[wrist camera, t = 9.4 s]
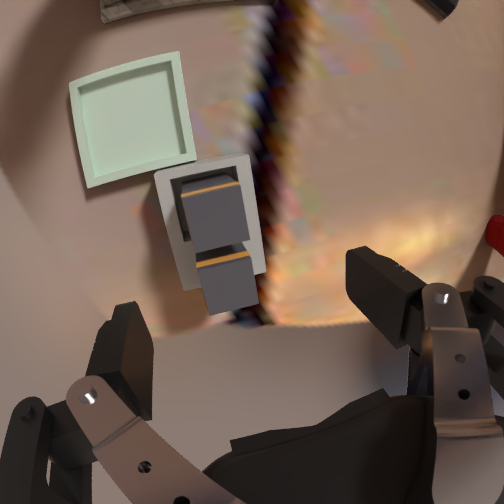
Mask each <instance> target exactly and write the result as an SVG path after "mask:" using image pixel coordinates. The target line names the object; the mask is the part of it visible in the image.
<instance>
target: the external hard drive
mask: <svg viewBox="0 0 504 504" xmlns="http://www.w3.org/2000/svg"><path fill="white" fill-rule="evenodd" d="M425 1H427V2H428V3H429V4H430V5H431V6H432V7H433V8H435V9H436V10H437V11H438V12H439V13H440V14H441V15H442V16H443V17H444V18H446V17H448V16H449V15H450V14H451V13H452V12H453V10H454V9H455V8H456V6H457V4H458V1H459V0H425Z"/></svg>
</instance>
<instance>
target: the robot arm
mask: <svg viewBox="0 0 504 504" xmlns="http://www.w3.org/2000/svg"><path fill="white" fill-rule="evenodd" d="M346 291H347V295H348V297H349V299H350V300H351V301H352V302H353V303H354V304H355V305H356V306H357V308H358V309H359V310H360V311H361V312H362V313H363V314H364V315H365V316H366V317H367V318H368V319H369V320H370V321H371V322H372V323H373V324H374V326H375V327H376V328H377V329H378V330H379V331H380V332H381V333H382V334H383V335H384V336H385V337H386V339H387V340H388V341H389V342H390V343H391V344H392V345H393V346H394V347H395V348H396V349H399V348H401V347H402V346H405V345H407V344H409V345H410V350H409V359H408V361H409V362H408V380H407V393H406V395H399V396H392V397H389V396H388V394H387V393H386V392H385V390H384V389H383V388H382V389H380V390H378V391H375V392H373V393H371V394H369V395H367V396H364V397H362V398H360V399H358V400H355V401H353V402H350V403H349V404H347V405H346V406H344V407H343V408H341V409H340V410H339V411H337V412H336V413H334V414H333V415H331V416H330V417H328V418H327V419H325V420H323V421H322V422H321V423H319V424H317V425H314V426H308V427H301V428H290V429H279V430H269V431H266V432H262V433H258V434H254V435H251V436H246V437H242V438H238V439H233V440H230V443H231V447H232V451H231V452H229V453H227V454H225V455H223V456H222V457H220V458H218V459H217V460H215V461H214V462H213V463H211V464H210V465H209V466H208V467H206V468H205V470H203V471H202V472H201V471H200V470H199V469H197V468H196V467H195V466H194V465H192V464H191V463H190V462H189V461H188V460H186V459H185V458H184V457H183V456H182V455H180V454H179V453H178V452H177V451H176V450H175V449H174V448H173V447H171V446H170V445H169V444H168V443H167V442H166V441H165V440H164V439H163V438H162V437H161V436H159V435H158V434H157V433H156V432H155V431H154V430H153V429H152V428H151V427H150V426H149V425H148V424H147V423H146V422H145V421H149V420H152V380H153V354H154V348H153V342H152V338H151V335H150V333H149V330H148V328H147V326H146V323H145V321H144V318H143V316H142V314H141V311H140V309H139V306H138V304H137V303H136V302H135V301H133V302H128V303H124V304H119V305H116V306H115V309H114V312H113V315H112V319H111V320H109V321H106V322H105V323H104V324H103V326H102V327H101V328H100V329H99V331H98V334H97V337H96V340H95V341H96V342H95V343H94V347H93V351H92V353H91V357H90V360H89V364H88V368H87V371H86V375H85V377H83V378H81V379H79V380H77V381H76V382H74V384H72V385H71V387H70V388H69V390H68V392H67V394H66V400H64V401H61V402H59V403H56V404H53V405H51V406H48V407H47V406H46V405H45V404H44V403H43V401H42V400H41V399H40V398H38V397H28V398H25V399H23V400H22V401H21V402H19V403H18V405H17V406H16V407H15V408H14V410H13V412H12V415H11V419H10V422H9V425H8V429H7V433H6V437H5V441H4V445H3V449H2V453H1V458H0V504H92V484H91V483H92V479H91V477H92V462H95V461H99V462H100V464H101V465H102V466H103V468H104V469H105V470H106V472H107V473H108V474H109V475H110V477H111V478H112V480H113V481H114V482H115V483H116V485H117V486H118V487H119V488H120V490H121V491H122V492H123V493H124V494H125V496H126V497H127V498H128V499H129V500H130V501H131V502H132V504H504V417H501V416H497V415H494V407H493V398H492V391H491V386H492V387H493V388H494V389H495V390H496V391H497V392H498V393H499V395H500V396H501V397H502V398H503V399H504V346H503V345H502V344H500V343H499V342H498V341H497V340H496V339H495V338H494V337H493V336H492V335H491V334H492V331H493V329H494V326H495V323H496V321H497V322H498V323H499V324H500V325H501V326H503V327H504V283H503V282H501V281H500V280H498V279H496V278H494V277H491V276H479V277H477V278H476V279H475V280H474V283H473V287H472V291H466V292H460V293H459V292H458V291H457V290H456V289H455V288H454V287H452V286H450V285H448V284H444V283H431V284H426V283H425V282H423V281H422V280H421V279H419V278H418V277H416V276H415V275H414V274H412V273H411V272H409V271H408V270H407V271H406V269H405V268H404V267H402V266H401V265H400V266H399V264H398V263H397V262H395V261H394V260H392V259H391V258H388V257H385V256H382V255H379V254H377V253H376V252H374V251H373V250H371V249H370V248H368V247H367V246H362V247H358V248H355V249H351V250H348V251H347V253H346ZM48 459H49V460H50V461H51V470H50V482H49V486H48V484H47V480H46V473H47V463H48Z"/></svg>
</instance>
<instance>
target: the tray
mask: <svg viewBox="0 0 504 504" xmlns="http://www.w3.org/2000/svg"><path fill="white" fill-rule="evenodd" d="M69 90H70V98H71V106H72V113H73V119H74V125H75V131H76V137H77V142H78V148H79V153H80V157H81V162H82V167H83V171H84V175H85V180H86V184H87V188H91V187H94V186H97V185H101V184H104V183H107V182H111V181H114V180H118V179H121V178H125V177H128V176H132V175H136V174H140V173H143V172H147V171H151V170H155V169H159V168H163V167H167V166H172V165H176V164H180V163H185V162H189V161H194V160H197V157H196V151H195V146H194V140H193V135H192V129H191V123H190V118H189V112H188V106H187V100H186V94H185V87H184V81H183V75H182V68H181V62H180V55H179V51H176V52H171V53H166V54H161V55H157V56H152V57H148V58H144V59H140V60H136V61H132V62H129V63H125V64H122V65H118V66H115V67H112V68H108V69H105V70H102V71H99V72H96V73H93V74H90V75H88V76H85V77H82V78H79V79H77V80H74V81H72V82H69Z"/></svg>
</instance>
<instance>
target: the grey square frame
mask: <svg viewBox="0 0 504 504" xmlns="http://www.w3.org/2000/svg"><path fill="white" fill-rule="evenodd" d="M222 172H225V173H226V174H227V175H228V176H230V177H231V178H232V179H233V180H235V181H236V182H239V184H240V186H241V191H242V197H243V202H244V208H245V213H246V219H247V224H248V230H249V235H250V240H248V241H244V242H240V243H236V244H231V245H227V246H223V247H219V248H215V249H211V250H207V251H203V252H199V253H195V251H194V247H193V243H192V240H191V236H190V232H189V228H188V224H187V220H186V216H185V211H184V207H183V203H182V199H181V194H182V182H183V181H187V180H191V179H195V178H200V177H204V176H208V175H213V174H218V173H222ZM154 179H155V183H156V188H157V192H158V196H159V201H160V205H161V209H162V213H163V217H164V221H165V225H166V229H167V233H168V237H169V241H170V245H171V248H172V252H173V256H174V259H175V263H176V267H177V270H178V274H179V277H180V281H181V284H182V287H183V291H188V290H192V289H197V288H201V287H202V290H203V294H204V298H205V301H206V305H207V309H208V312H209V315H214V314H218V313H223V312H227V311H231V310H235V309H239V308H243V307H247V306H251V305H255V304H259V301H258V295H257V289H256V283H255V277H254V275H256V274H260V273H264V272H266V266H265V259H264V252H263V245H262V238H261V231H260V225H259V218H258V211H257V205H256V198H255V191H254V185H253V178H252V172H251V165H250V159H249V155H247V154H244V153H234V154H229V155H224V156H218V157H213V158H208V159H203V160H198V161H194V162H189V163H184V164H180V165H176V166H171V167H167V168H163V169H159V170H157V171H156V172H155V174H154Z"/></svg>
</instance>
